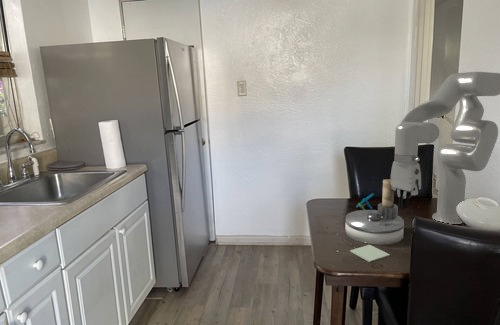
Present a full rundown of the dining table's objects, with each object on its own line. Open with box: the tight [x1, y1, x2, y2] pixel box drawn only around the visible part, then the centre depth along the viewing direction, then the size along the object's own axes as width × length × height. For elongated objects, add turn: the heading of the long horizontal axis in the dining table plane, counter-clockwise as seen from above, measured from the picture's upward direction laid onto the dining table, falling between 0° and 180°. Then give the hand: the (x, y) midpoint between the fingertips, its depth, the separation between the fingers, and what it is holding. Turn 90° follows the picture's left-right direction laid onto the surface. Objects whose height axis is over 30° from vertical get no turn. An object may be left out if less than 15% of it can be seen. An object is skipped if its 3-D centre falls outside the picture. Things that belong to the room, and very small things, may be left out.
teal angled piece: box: [355, 192, 375, 210], centre depth 161 cm, size 11×6×10 cm
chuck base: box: [344, 223, 405, 246], centre depth 133 cm, size 21×21×4 cm
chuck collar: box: [345, 202, 405, 233], centre depth 132 cm, size 21×21×6 cm
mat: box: [349, 244, 391, 263], centre depth 117 cm, size 9×9×1 cm
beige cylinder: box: [381, 178, 395, 208], centre depth 134 cm, size 4×4×14 cm
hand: (403, 207), depth 128 cm, fingers closed
